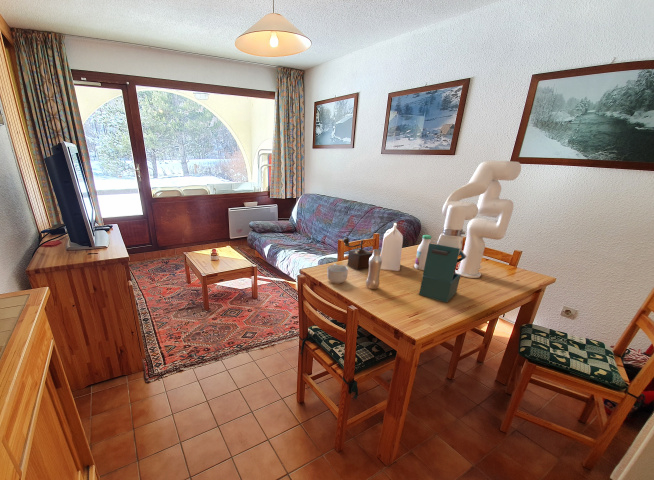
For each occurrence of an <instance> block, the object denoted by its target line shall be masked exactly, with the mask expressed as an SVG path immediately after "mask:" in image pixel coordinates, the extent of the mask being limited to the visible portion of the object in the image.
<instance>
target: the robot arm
mask: <svg viewBox="0 0 654 480" xmlns="http://www.w3.org/2000/svg"><path fill="white" fill-rule="evenodd" d="M521 170H522V164H521V163H520V162H519V161H512V160H485V161H482V162H481V163H479V165H478V166H477V167H476V169H475V171H474V173H473V174H472V176H471V177H470V179H469V181H468V182H467V183H466V184H464V185H462V186H459V187H458V188H456V189H455V190H453V191H452V192H451V193H450V194H449V195H448V197H447V198H446V200H445V201H444V202H445V203H444V204H443V206H442V210H441V212H442V215H443V216H444V217H445V219H444V224H443V228H442V232H441V233H440V235H439V237H438V239H437V243H436V244H437V245H443V246H448V247H454V248H459V249H460V251H459V255H458V259H457V263H456V267H455V271H454V273H456V274H460V275H461V276H460V277H464V278H469V279H478V278H481V276H482V273H481V272H480V269H482V265H481V263H482V260H483V256H484V253H485V249H486V241H485V240H484V239H490V240H497V241H498V240H502V239H503V238H504V237H505V235H506V233H507V229H508V226H509V224H510V220H511V218H512V214H513V211H514V202H513V201H512V200H511V199H507V198H500V196H501V192H502V185H501V183H500V182H499V181H507V182H509V181H510V182H511V181H514V180H516V179H517V178H518V177H519V176H520V174H521V172H522V171H521ZM477 196H479V197H478V201H477V203H473V202H465V201H463V200H464V199H470V198H473V197H477ZM477 216H482V217H488V218H496V219H497V220H495V219H488V218H480V217H477ZM465 221H469V222H468V223H467V227H466V231H464V223H465ZM463 235H466V238H465V243H464V246H463V241H464V236H463ZM462 249H463V250H462ZM460 256H461V257H460ZM459 257H460V258H459ZM458 264H459V267H458V268H457V265H458ZM456 269H458V270H456Z"/></svg>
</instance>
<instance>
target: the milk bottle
mask: <svg viewBox="0 0 654 480" xmlns="http://www.w3.org/2000/svg"><path fill="white" fill-rule="evenodd" d="M421 239H422V241H421V242H420V244H419V245H418V247H417V249H416V256H415V261H414V266H413V267H414V268H415V269H416V270H420V271H424V266H425V262H426V257H427V252H428V247H429V243H431V241H432V235H430V234H423V235H422V238H421Z"/></svg>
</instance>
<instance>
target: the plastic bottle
mask: <svg viewBox="0 0 654 480" xmlns="http://www.w3.org/2000/svg"><path fill="white" fill-rule="evenodd" d="M381 251H382V249H378V248H376V249H375V248H374V249H373V250H372V252H371V253H372V254H373V255H372V256H371V257H370V259H369V269H368V274H367V278H366V282H365V286H366V287H367V288H368V289H370V290H376V289H378V288H379V287H380V273H381V272H380V271H381V269H380V268H381V264H382V258H381Z"/></svg>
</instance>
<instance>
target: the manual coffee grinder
mask: <svg viewBox="0 0 654 480" xmlns="http://www.w3.org/2000/svg"><path fill="white" fill-rule="evenodd" d="M342 242H343V243H344V246H345V247H347V248H354V249H352V250H348V254H347V255H348V256H347V265H346V266H347V267H349V268H351V269H353V270H356V271H364V270H369V259H370V257H371V256H372V255H373V254H372V253H373V252H370V251H369V250H367V249H364V248H363V244H364V240H363V239H361V240H360V242H359V243H358V244H355V245H350V242H351V239H350V238H349V237H344V238H343V239H342ZM359 246H360V247H359Z"/></svg>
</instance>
